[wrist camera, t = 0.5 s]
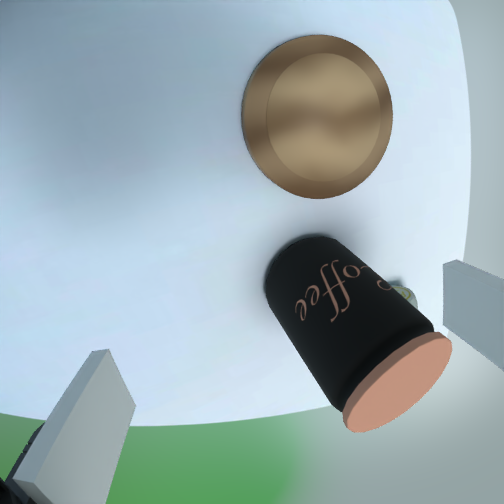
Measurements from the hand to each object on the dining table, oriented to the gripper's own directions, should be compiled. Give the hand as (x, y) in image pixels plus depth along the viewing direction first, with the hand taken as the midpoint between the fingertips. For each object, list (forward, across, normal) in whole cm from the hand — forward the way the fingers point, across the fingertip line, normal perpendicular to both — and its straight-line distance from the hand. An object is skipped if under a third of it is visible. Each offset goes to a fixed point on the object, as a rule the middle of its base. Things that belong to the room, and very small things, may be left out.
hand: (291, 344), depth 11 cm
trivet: (+20, +9, +10) cm, 24 cm away
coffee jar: (+25, +5, -6) cm, 26 cm away
